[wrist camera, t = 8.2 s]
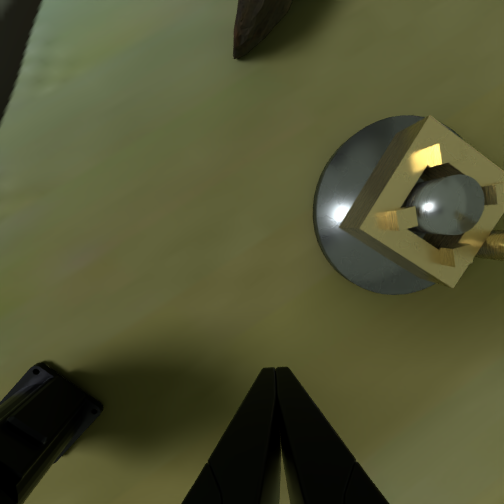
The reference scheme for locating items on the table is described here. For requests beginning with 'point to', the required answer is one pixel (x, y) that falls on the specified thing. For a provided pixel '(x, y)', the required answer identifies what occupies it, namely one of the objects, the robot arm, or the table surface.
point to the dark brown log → (256, 22)
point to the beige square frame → (400, 219)
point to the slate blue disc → (421, 196)
